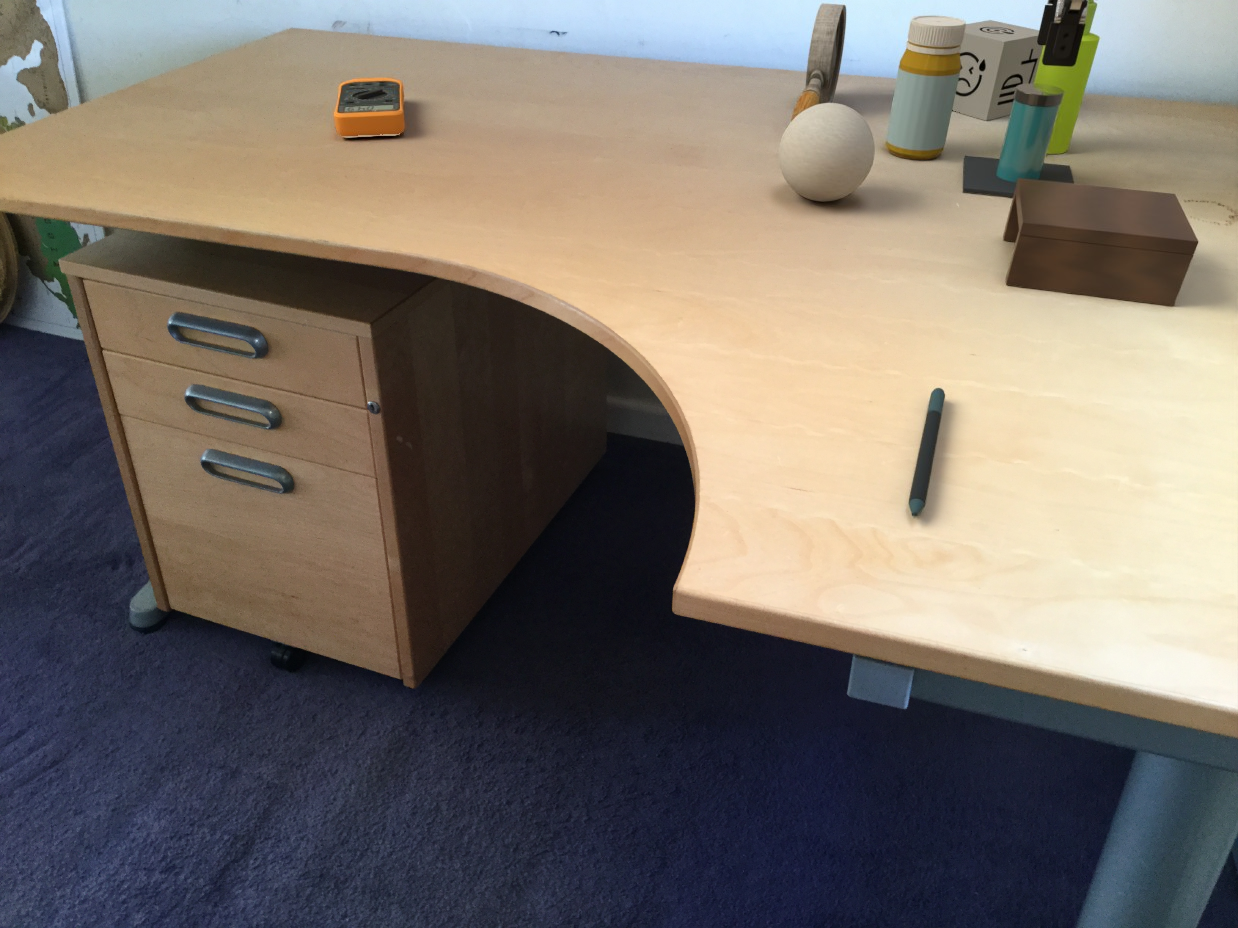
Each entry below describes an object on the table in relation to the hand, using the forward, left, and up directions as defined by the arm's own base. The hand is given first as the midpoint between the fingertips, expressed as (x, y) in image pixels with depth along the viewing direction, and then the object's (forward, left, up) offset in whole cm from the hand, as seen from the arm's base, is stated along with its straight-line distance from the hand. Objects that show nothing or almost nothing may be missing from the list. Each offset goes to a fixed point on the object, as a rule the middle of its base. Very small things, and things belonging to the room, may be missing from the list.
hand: (1054, 55), depth 100 cm
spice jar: (+1, 0, -13) cm, 13 cm away
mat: (0, 0, -14) cm, 14 cm away
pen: (+8, +60, -14) cm, 62 cm away
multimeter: (+82, +2, -14) cm, 84 cm away
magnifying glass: (+26, -19, -14) cm, 35 cm away
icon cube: (+4, -31, -14) cm, 34 cm away
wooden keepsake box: (-5, +24, -14) cm, 28 cm away
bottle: (+12, -7, -14) cm, 20 cm away
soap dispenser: (-4, -14, -14) cm, 20 cm away
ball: (+21, +13, -14) cm, 29 cm away
